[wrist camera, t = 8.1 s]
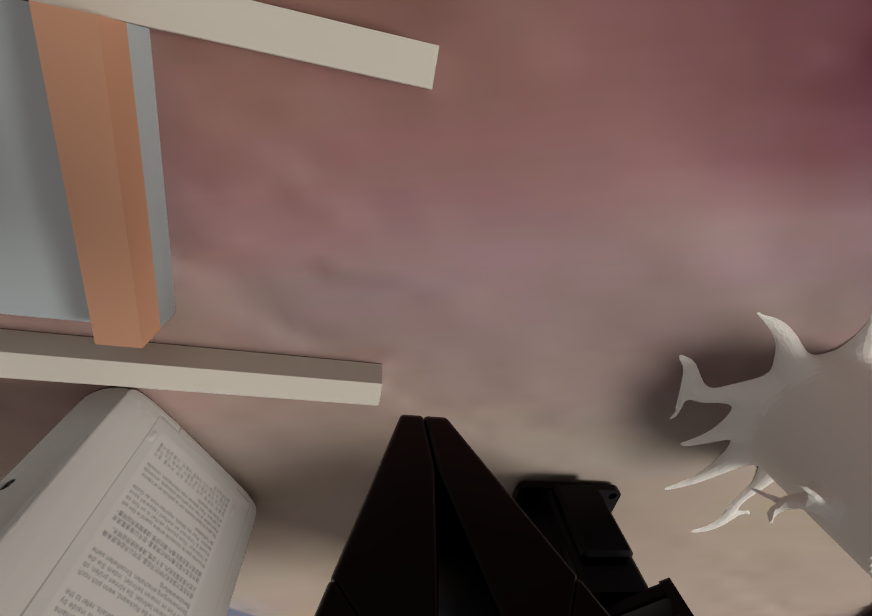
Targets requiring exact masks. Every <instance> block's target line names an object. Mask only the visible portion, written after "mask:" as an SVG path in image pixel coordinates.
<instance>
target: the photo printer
mask: <svg viewBox="0 0 872 616" xmlns="http://www.w3.org/2000/svg"><path fill="white" fill-rule="evenodd" d="M256 512H257V510H256V506H255V504H254V502H253V501H252V499H251V498H250V496H249V495H248V494H247V492H246V491H245V490H244V489H243V488H242V487H241V486H240V485H239V484H238V483H237V482H236V481H235V480H234V479H233V478H232V477H231V476H230V475H229V474H228V473H227V472H226V471H225V470H224V469H223V468H222V467H221V466H220V465H219V464H218V463H217V462H216V461H215V460H214V459H213V458H212V457H211V456H210V455H209V454H208V453H207V452H206V451H205V450H204V449H203V448H202V447H201V446H200V445H199V444H198V443H197V442H196V441H195V440H194V439H193V438H192V437H191V436H190V435H189V434H188V433H187V432H185V431H184V430H183V429H182V428H181V427H180V426H179V424H178V423H176V422H175V421H174V420H173V419H172V418H171V417H170V416H169V415H168V414H167V413H166V412H164V411H163V410H162V409H161V408H160V407H159V406H158V405H157V404H155V403H154V402H153V401H152V400H151V399H149V398H148V397H146V396H145V395H144V394H142V393H141V392H139V391H138V390H135V389H130V390H129V389H127V388H107V389H102V390H98V391H96V392H93V393H91V394H89V395H87V396H86V397H85V398H83V399H82V400H81V401H80V402H79V403H78V404H77V405H76V406H75V407H74V408H73V409H72V410H71V411H70V412H69V413H68V414H67V415H66V416H65V417H64V418H63V419H62V420H61V421H60V422H59V423H58V424H57V425H56V426H55V427H54V428H53V429H52V430H51V431H50V432H49V433H48V434H47V435H46V436H45V437H44V438H43V439H42V440H41V441H40V442H39V443H38V444H37V445H36V446H35V447H34V448H33V449H32V450H31V451H30V452H29V453H28V454H27V455H26V456H25V457H24V458H23V459H22V460H21V461H20V462H19V463H18V464H17V465H16V466H15V467H14V468H13V469H12V470H11V471H10V472H9V473H8V474H7V475H6V476H5V477H4V478H3V479H2V480H1V481H0V616H226V615H227V611H228V608H229V604H230V601H231V598H232V595H233V592H234V588H235V585H236V581H237V578H238V575H239V571H240V568H241V565H242V562H243V559H244V555H245V552H246V548H247V546H248V542H249V539H250V536H251V533H252V529H253V526H254V522H255V518H256Z"/></svg>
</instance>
